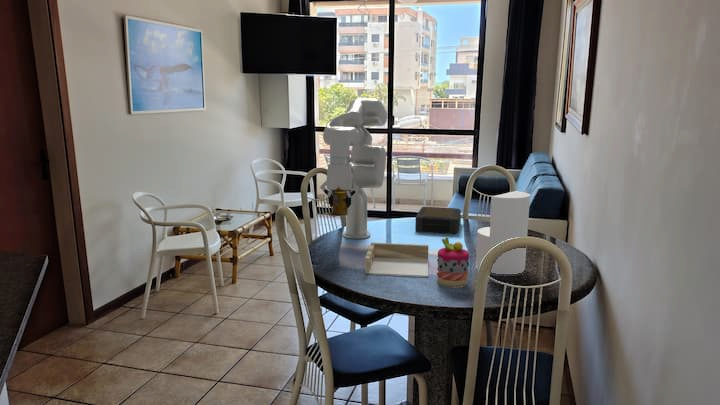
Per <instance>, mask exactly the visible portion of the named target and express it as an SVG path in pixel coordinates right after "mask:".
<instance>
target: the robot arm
mask: <svg viewBox="0 0 720 405" xmlns="http://www.w3.org/2000/svg"><path fill="white" fill-rule="evenodd" d="M387 121H388V112H387V110H386V107H385V106H384V105H383V103H382V101H380V100H379V99H377V98H356V99H353V100H351V102H350V103H349V105H348V106H347V109H346V110H345V112H344V113H342V114H340V115H337V116H336V117H333V118H332V119H330V120H329V121H328V122H327V124H326V125H325V127H324V129H323V133H322V138H323V139H322V140H323V142H324V143H325V145H327V146H329V163H328V165H327V171H326V180H325V181H324V182H323V183H322V184H321V185H320V186H319V188H320V189H321V190H322V191H323V193H324V194H325V195H326V196H327V197H328V202H327V203H328V205H329V208H332V191H333V190H336V189H337V188H340V189H342V190H344V191H346V193H347V195H348V197H347V208H348V212H347V213H349V214H351V215H345V231H343V232H342V237H344V238H346V239H351V240H360V239H367V238H369V237H371V232H370V231H368V195H367V194H366V192H365V190H364V189H379V188H382V186H383V184H384V179H385V171H386V163H387V152H386V151H387V150H386V149H385V147H383V146H382V145H372V144H373V136H372V135H371V133H370V132H369V130H367V129H366V127H383V126H385V125H386V123H387ZM350 147H351V150H350ZM350 151H351V152H350ZM351 163H352V164H353V165H352V164H351ZM338 186H339V187H338Z"/></svg>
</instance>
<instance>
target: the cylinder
mask: <svg viewBox="0 0 720 405" xmlns="http://www.w3.org/2000/svg"><path fill="white" fill-rule="evenodd" d="M530 200H531V194H530V193H528V192H524V191H520V190H514V191H510V192H506V193H501V194H496V195H494V196H493V195H492V196H491V201H490V202H491V203H490V204H491V206H490V219H489V220H490V222H489V226H487V227H480V228H479V229H478V230H476V231H477V232H476V233H477V234H476V236H477V238H476V253H475V254H476V255H475V270H477V271H478V267H479V265H480V263H481V261H482V259H483V257H484V256H485V254H486V253H487V252H488V251H489V250H490V249H491V248H493V247H494V246H496V245H497V244H499V243H501V242H502V241H505V240H507V239H510V238H515V237H527V238H528V232H529V231H528V229H529V216H530V206H531V205H530V203H531V201H530ZM526 257H527V247H526V248H516V249H512V250H510V251H507V252H505V253H503V254H502V255H501V256H500V257H498V259H497V260H496V262H495V263H494V264H493V266H492V269H491V272H492V273H496V274H518V273H522V272H523V271H524V270H526V259H527V258H526Z"/></svg>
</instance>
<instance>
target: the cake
mask: <svg viewBox="0 0 720 405" xmlns="http://www.w3.org/2000/svg"><path fill="white" fill-rule="evenodd" d="M441 242H442V244H443V245H444V247H442V248H440V249H438V250H437V260H436V261H437V267H436V269H437V271H438V272H436V275H437V276H436V277H437V278H436V279H437V281H436V282H437V284H438V283H439V284H440V285H439V284H438V285H439V286H442V285H443V286H442V287H445V286H448V287H447V288H450V287H460V288H462V287H461V286H464V287H466V286H467V285H468V276H469V269H468V267H469V266H470V262H469V259H470V258H469V257H470V253H469V251H468V250H466V249H463V247H464V246H463V244H462V243H461V242H460V241H456V242H454V243H451V242H450V241H449V238H448V237H445V238H442V239H441ZM466 284H467V285H466ZM465 285H466V286H465Z"/></svg>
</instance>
